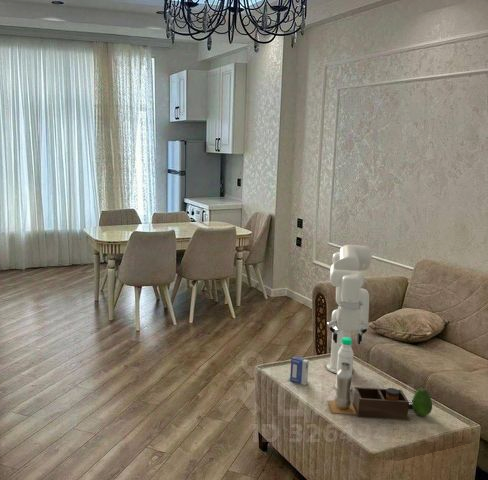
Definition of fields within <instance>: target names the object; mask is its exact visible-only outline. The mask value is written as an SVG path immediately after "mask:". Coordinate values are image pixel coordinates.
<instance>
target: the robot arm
mask: <svg viewBox="0 0 488 480" xmlns="http://www.w3.org/2000/svg"><path fill="white" fill-rule="evenodd" d="M372 258H373V251H372V249H371V247H370V246H368V245H365V244H364V245H363V244H362V245H361V244H345V245H343V246H341V248H340V249H339V251H336V252H335V253H334V254H333V255H332V264H331V266H330V269H329V282H330V285H331V286H333V287H334V288H335V303H336V304H337V305H338V306H337V308H335V309H333V311H332V312H331V320H330V321H328V322H326V324H327V326H328V328H329V330H330V332H331V346H330V361H329V362H328V363H326V369H327V370H328V371H329V372H331V373H334V374H337V361H338V351H339V349H340V348H341V346H342V343H341V340H342V338H344V337H348V338H351V339H352V338H353V337H352V334H351V332H357V334H356V335H357V337H356V342H357V344H358V345H361V342H362V341H363V335H364V334H365V333H367V332H368V329H370V324H369V315H370V293H369V291H368V290H367V289H365V288H362V287H363V286H364V284H365V275H364V273H363V272H362V271H367V270H369V268H370V265H371V263H372ZM352 340H353V339H352Z"/></svg>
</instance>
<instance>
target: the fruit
mask: <svg viewBox="0 0 488 480" xmlns="http://www.w3.org/2000/svg"><path fill="white" fill-rule="evenodd" d="M412 397H413V398H412V401H411V406H412V410H413V411H414V413H415V414H416V415H418V416H420V417H425V416H428V415H429V414H430V413H431V412H432V411H433V401H432V398H431V395H430V393H429V391H428V390H427V389H426V388H421V387H420V388H418V389H417V390H416V391H415V393H414V394H413V396H412Z"/></svg>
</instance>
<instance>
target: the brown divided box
mask: <svg viewBox="0 0 488 480" xmlns="http://www.w3.org/2000/svg"><path fill="white" fill-rule="evenodd" d="M353 389H354V390H353V401H352V404H353V407H354V409H355V412H356V415H357V416H358V417H359V418H374V419H375V418H376V419H391V420H408V417H409V407H410V406H409V405H410V401H409V399H408V398H407V396H406V395H405V393H404V391H403V390H402V389H398V390H399V399H398V400H386V389H387V388H375V387H362V386H361V387H359V386H355V387H354V388H353Z"/></svg>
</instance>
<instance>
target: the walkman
mask: <svg viewBox="0 0 488 480" xmlns="http://www.w3.org/2000/svg"><path fill="white" fill-rule="evenodd" d="M309 362H310V360H309V359H305V358H302V357H298V356H296V355H295V356H292V357H291V358H290V372H289V373H290V375H289V376H290V377H289V381H290V382H293V383H296V384H300V385H303V386H305V385H307V384H308V380H309V365H310V363H309Z"/></svg>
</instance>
